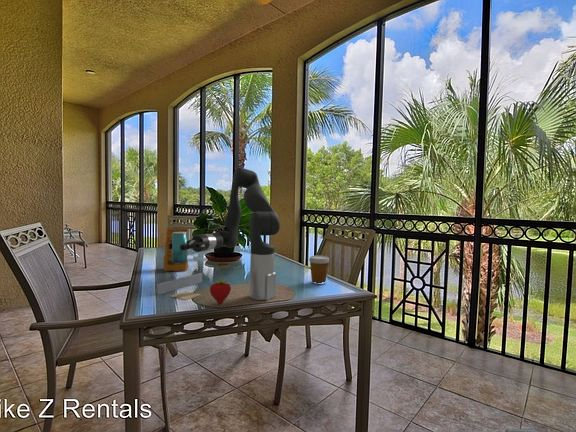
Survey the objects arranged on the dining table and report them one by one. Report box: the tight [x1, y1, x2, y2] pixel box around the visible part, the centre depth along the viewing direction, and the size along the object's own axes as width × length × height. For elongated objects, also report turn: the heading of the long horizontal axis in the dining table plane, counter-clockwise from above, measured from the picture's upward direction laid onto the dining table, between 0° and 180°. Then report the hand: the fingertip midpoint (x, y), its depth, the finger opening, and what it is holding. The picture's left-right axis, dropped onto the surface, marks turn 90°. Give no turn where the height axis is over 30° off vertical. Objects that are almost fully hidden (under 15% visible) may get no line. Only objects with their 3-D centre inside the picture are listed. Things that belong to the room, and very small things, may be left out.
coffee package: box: [163, 227, 189, 272], centre depth 170 cm, size 10×12×22 cm
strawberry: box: [209, 276, 232, 305], centre depth 117 cm, size 6×8×10 cm
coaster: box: [169, 290, 202, 301], centre depth 126 cm, size 8×8×1 cm
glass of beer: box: [308, 255, 330, 283], centre depth 151 cm, size 10×10×12 cm
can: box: [172, 232, 188, 263], centre depth 135 cm, size 6×6×12 cm
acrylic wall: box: [155, 272, 203, 296], centre depth 137 cm, size 1×24×4 cm, turn 152°
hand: (175, 246), depth 133 cm, fingers closed on can, 6 cm apart
